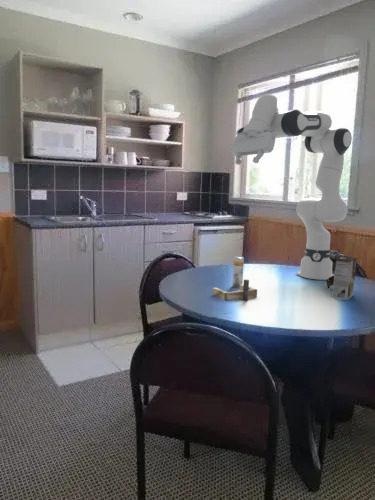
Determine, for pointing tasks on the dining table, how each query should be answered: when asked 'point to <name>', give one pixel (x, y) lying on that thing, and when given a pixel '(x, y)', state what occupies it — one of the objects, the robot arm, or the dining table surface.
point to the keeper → (236, 293)
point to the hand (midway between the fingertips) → (246, 163)
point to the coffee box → (344, 277)
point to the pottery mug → (330, 281)
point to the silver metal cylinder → (237, 271)
